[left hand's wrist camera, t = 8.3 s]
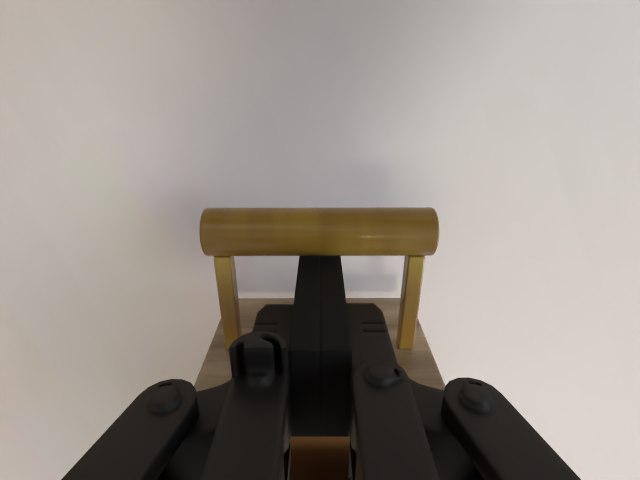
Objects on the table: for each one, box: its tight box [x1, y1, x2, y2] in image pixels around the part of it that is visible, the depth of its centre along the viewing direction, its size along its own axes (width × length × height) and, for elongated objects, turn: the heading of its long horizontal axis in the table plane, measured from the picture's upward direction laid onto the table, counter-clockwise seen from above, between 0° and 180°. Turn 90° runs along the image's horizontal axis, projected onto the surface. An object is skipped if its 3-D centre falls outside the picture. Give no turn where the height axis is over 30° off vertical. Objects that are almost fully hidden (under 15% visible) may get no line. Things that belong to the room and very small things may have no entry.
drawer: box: [194, 208, 445, 480], centre depth 18 cm, size 23×9×6 cm, turn 0°
